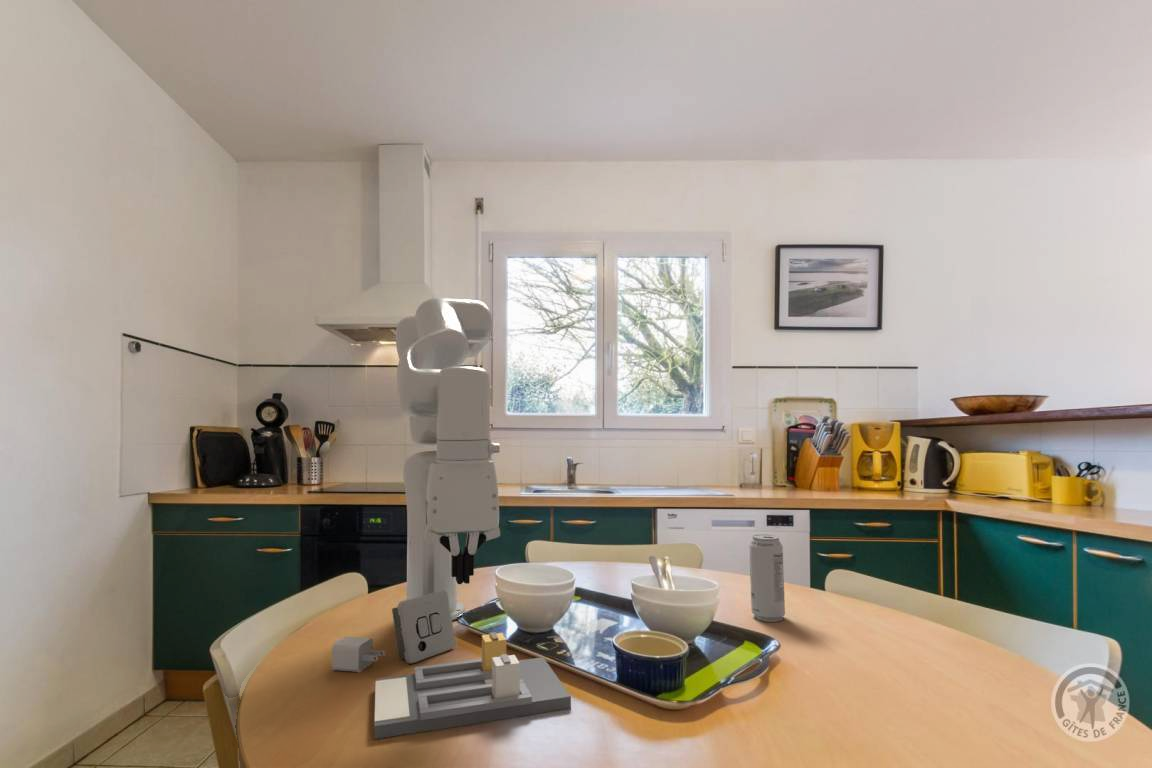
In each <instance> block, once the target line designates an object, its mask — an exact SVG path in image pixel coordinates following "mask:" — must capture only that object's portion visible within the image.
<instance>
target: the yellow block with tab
mask: <svg viewBox="0 0 1152 768" xmlns="http://www.w3.org/2000/svg"><path fill="white" fill-rule="evenodd" d="M502 654H507V638H506V636H505V635H504V634H503V632H498V633H497V632H496V631H493V632H489V634H482V635H481V659H482V669H483V671H489V670H492V658H493V657H501V655H502Z"/></svg>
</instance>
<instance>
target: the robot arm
mask: <svg viewBox="0 0 1152 768" xmlns="http://www.w3.org/2000/svg"><path fill="white" fill-rule="evenodd" d="M493 325H494V321H493V316H492V313H491V310H490V308H489V307H488V305H486V303H484V302H483V301H480V300H476V299H474V300H473V299H464V298H463V299H460V298H447V297H435V298H430V299H426V300H425V301H423V302H421V304H420V305H419V306H418V307H417V309H416V311H415V314H414V315H410V316H407V317H404V318H402V319H401V320H399V322H398V324H397V325H396V329H395V344H396V345H395V346H396V352H397V357H398V359H399V360H398V363H397V364H398V365H397V369H396V389H397V399H398V402H399V406H400V408H401V410H402V412H403V413H404V414H406V415H407V416H409V418H408V419H409V432H410V437H411V440H412V442H413V443H414V444H415V445H417V446H420V447H427V448H436V450H426V451H419V452H417V453H413V454H412V455H410V456H409V457H408V458H407V459H406V460H405V462H404V464H403V468H402V469H403V470H402V471H403V472H402V474H403V475H402V477H403V478H402V479H403V486H404V491H405V492H404V493H405V498H406V499H405V501H406V512H407V513H406V514H407V515H406V516H407V517H406V518H407V520H406V521H407V525H406V526H407V528H406V529H407V533H406V534H407V536H406V537H407V538H406V542H407V546H406V548H407V549H406V553H407V554H406V600H409V599H412V598H416V597H420V596H423V595H427V594H431V593H434V592H438V591H446V592H447V594H448V600H449V606H450V612H451V617H452V621H454V620H456V619H458V618H457V616H459V615H460V614H462V613H464V612H466V606H465V605H464V603H462V602H460V601H457V600H458V591H457V590H458V585H463V583H464V584H466V585H467V584H470V582H471V581H470V580H471V579H470V577H471V576H472V577H473V576H474V573H475V571H474V570H475V566H474V564H475V554H476V553H477V551H478V549H480V548H481V546H482V545H483V544H484V543H485V542H486V541H490V540H493V539H497V538H499V537H500V536H501V529H500V527H499V524H500V503H499V501H500V500H499V490H498V489H499V487H498V478H497V471H496V466H495V463H494V462H495V461H493V455H494V454H499V453H500V444H499V443H494V442H492V441H491V440H492V439H491V431H490V430H491V429H490V428H491V427H490V426H491V425H490V422H491V420H490V415H491V414H490V413H491V411H490V407H491V403H492V394H493V393H492V385H491V381H490V374H489V373H488V371H487V370H486V369H485V368H482V367H477V366H461V365H462V364H463V363H464V362H465V360H466V359H467V358H473V357H476V356H477V355H478V354H479V353H480V352H481V351H483V348H484V347H486V345H487V344H488V342H489V340H490V339H491V337H492V332H493V328H494V327H493ZM458 534H466V535H467V536H466V541H465V546H464V547H463V551H462V549H461V548H460V544H459V537H458ZM464 614H465V613H464Z"/></svg>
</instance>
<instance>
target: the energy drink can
mask: <svg viewBox="0 0 1152 768" xmlns="http://www.w3.org/2000/svg"><path fill="white" fill-rule="evenodd" d="M748 548H749V573H750V576H749V577H750V579H749V580H750V601H751V602H750V603H751V605H750V606H751V610H750V611H751V613H752V614H753V615H754V618H755V619H756V620H758V621H763V622H765V623H767V622H769V623H774V622H775V623H776V622H780V621H782V620H783V617H784V616H785V615H786V607H785V605H786V604H785V603H786V602H785V581H784V578H785V577H784V575H785V574H784V573H785V571H784V552H783V551H784V550H783V548H784V546H783V544H782V543H781V541H780V537H779V536H778V535H773V534H754V535H752V540H751V542H750V543H749V547H748Z"/></svg>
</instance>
